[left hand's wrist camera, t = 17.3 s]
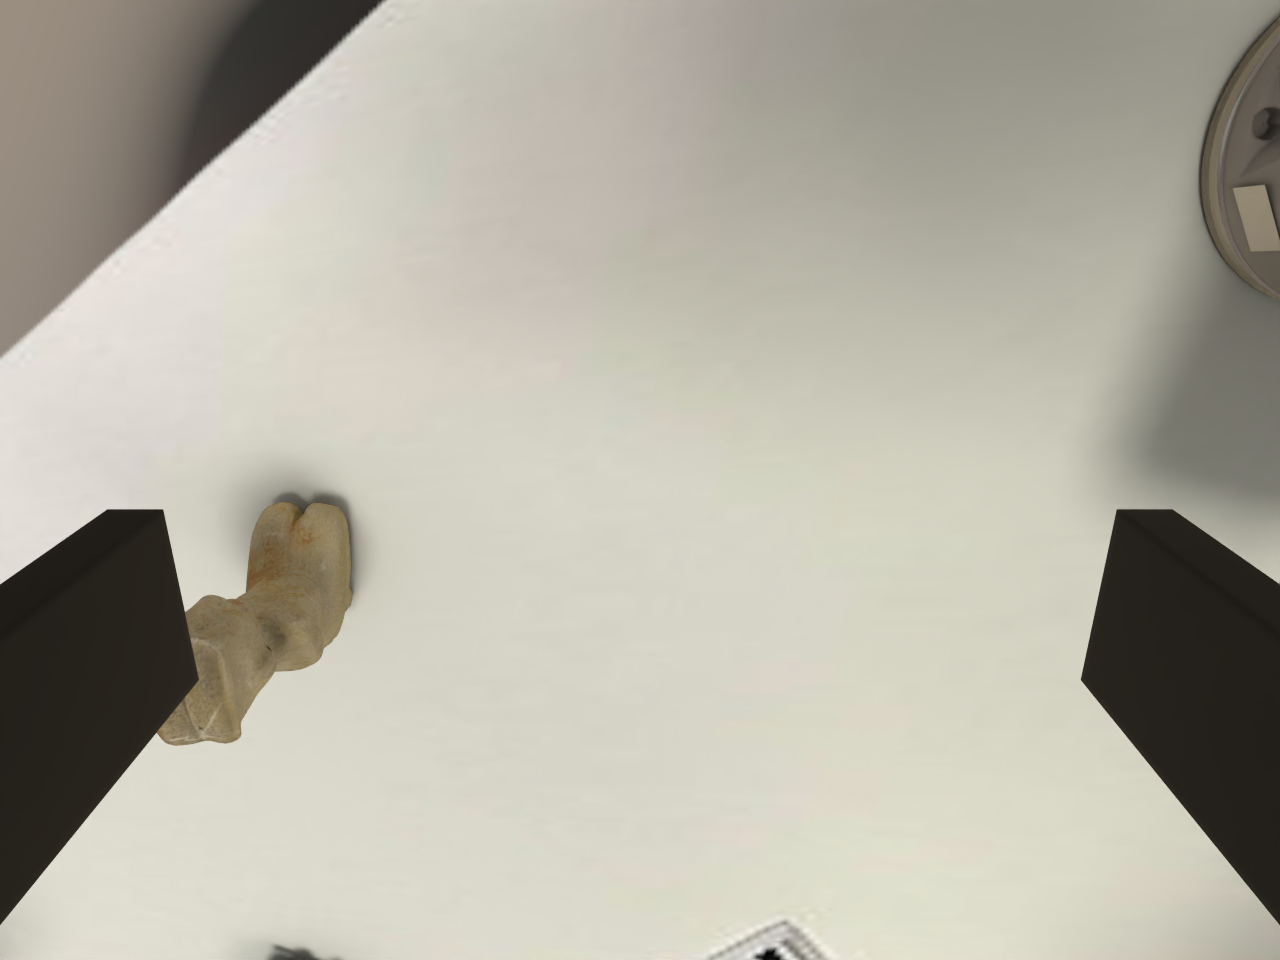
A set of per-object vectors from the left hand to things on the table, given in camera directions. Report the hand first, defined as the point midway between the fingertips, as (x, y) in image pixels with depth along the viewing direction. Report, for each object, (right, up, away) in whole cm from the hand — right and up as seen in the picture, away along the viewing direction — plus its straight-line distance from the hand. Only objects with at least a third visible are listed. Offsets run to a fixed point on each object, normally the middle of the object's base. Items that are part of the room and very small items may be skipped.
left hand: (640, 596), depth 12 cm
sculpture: (-18, -2, +37) cm, 41 cm away
